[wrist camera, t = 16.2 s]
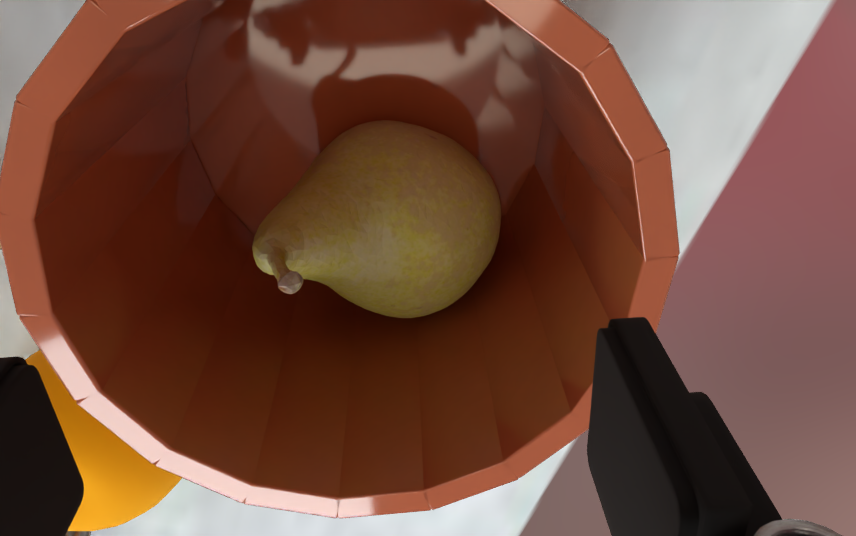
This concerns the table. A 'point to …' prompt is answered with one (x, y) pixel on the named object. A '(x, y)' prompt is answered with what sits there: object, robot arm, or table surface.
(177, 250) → the pot
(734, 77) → the table surface
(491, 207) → the fruit
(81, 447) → the apple
